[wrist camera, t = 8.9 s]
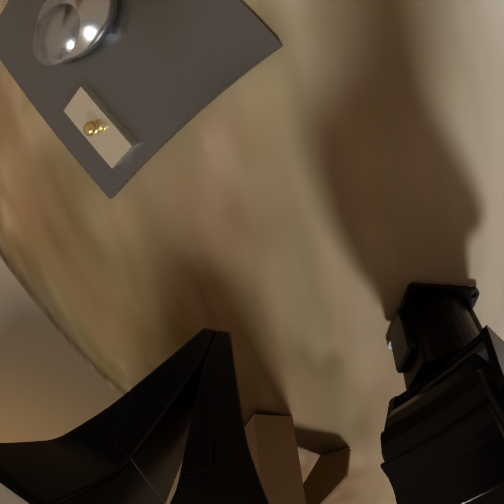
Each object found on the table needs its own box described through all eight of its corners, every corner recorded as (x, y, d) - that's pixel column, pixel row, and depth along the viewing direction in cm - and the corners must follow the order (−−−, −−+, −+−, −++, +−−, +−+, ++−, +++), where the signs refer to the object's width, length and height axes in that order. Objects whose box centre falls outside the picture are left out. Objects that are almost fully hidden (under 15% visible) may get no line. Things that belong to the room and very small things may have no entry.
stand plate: (282, 45, 15) (279, 40, 13) (114, 196, 21) (96, 209, 19) (102, -102, 9) (85, -111, 7) (-9, 39, 15) (-29, 41, 13)
